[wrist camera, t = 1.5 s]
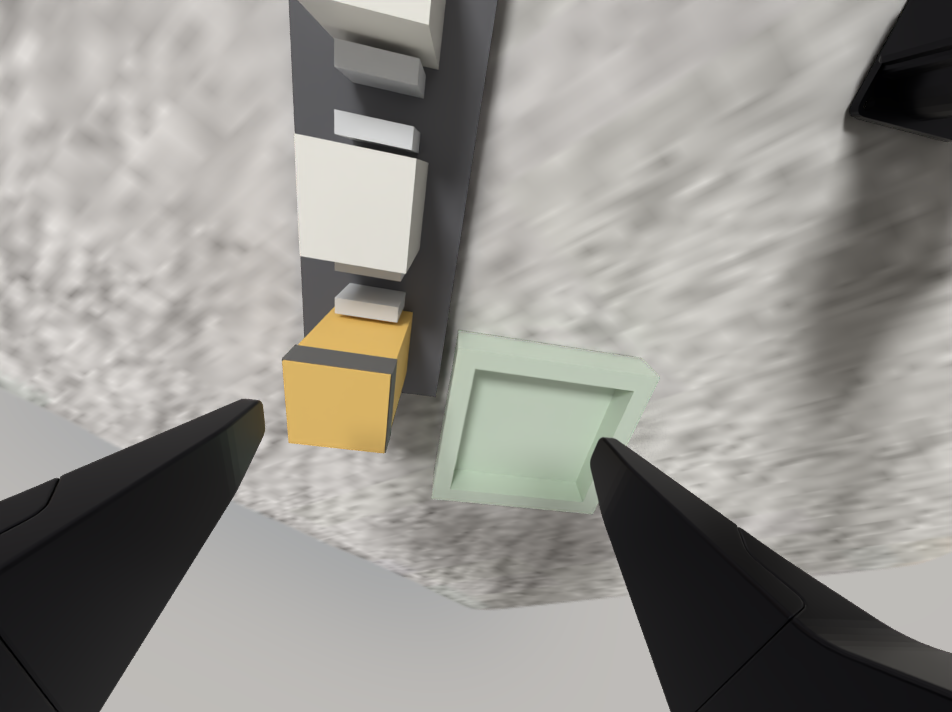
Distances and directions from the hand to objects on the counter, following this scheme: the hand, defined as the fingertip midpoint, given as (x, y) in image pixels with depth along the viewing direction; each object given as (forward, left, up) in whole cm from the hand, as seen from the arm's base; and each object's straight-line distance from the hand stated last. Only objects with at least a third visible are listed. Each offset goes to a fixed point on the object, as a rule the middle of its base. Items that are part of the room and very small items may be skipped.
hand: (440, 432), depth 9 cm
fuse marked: (+4, +3, -11) cm, 12 cm away
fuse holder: (+4, -4, -13) cm, 14 cm away
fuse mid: (+4, -4, -11) cm, 13 cm away
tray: (-7, +9, -13) cm, 17 cm away
